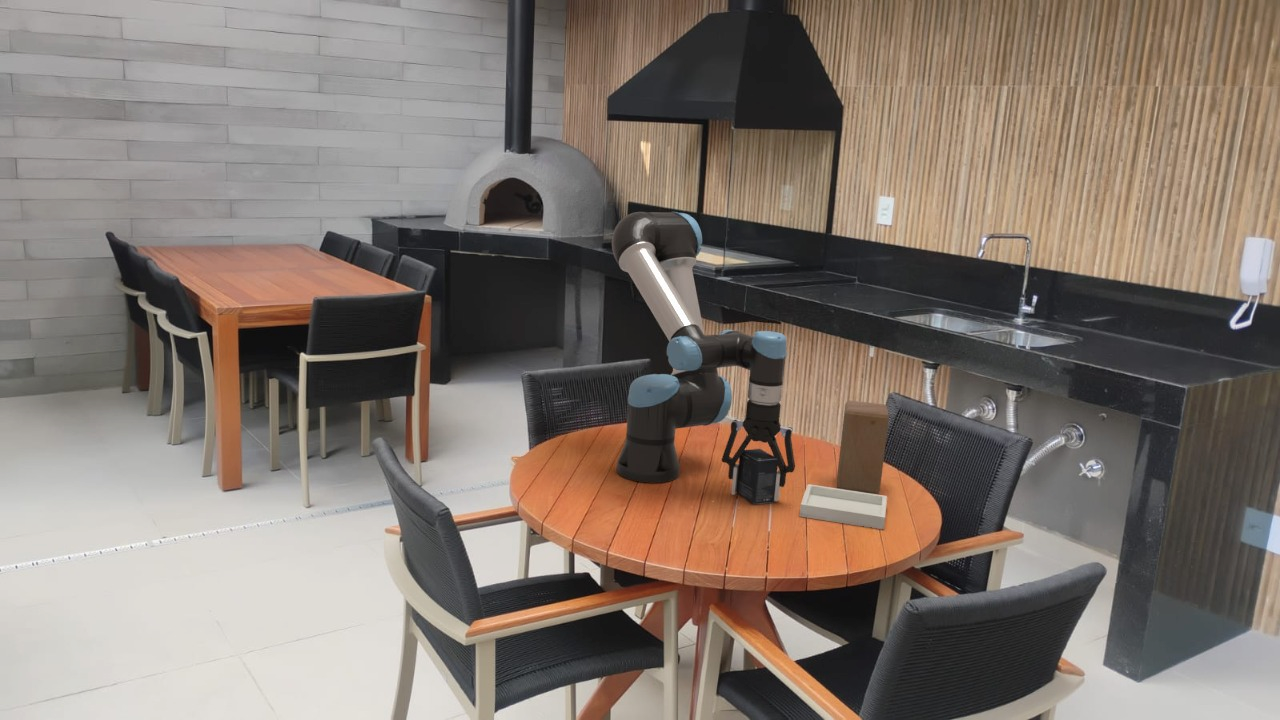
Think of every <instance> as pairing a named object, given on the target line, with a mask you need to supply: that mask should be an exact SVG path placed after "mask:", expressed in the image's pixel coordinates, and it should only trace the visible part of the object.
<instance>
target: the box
mask: <svg viewBox="0 0 1280 720" xmlns="http://www.w3.org/2000/svg"><path fill="white" fill-rule="evenodd" d="M777 461H778V460H777V459H776V458H774V455H773V454H770V453H768V452H767V451H765V450H763V449H761V448H753V449H745V450H744V451H743V453H742V454H741V456H740V457H739V459H738V464H739V469H738V480H737V491H736V493H735V494H736V495H738V496H740V497H742V498H743V499H745V500H746V501H748V502H749V503H751V504H752V505H755V506H756V505H762V504H763V505H764V504H772V503H774V502H775V501H774V496H775V486H776V476H777V472H778V469H779V468H778V465H777Z"/></svg>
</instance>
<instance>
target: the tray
mask: <svg viewBox="0 0 1280 720" xmlns="http://www.w3.org/2000/svg"><path fill="white" fill-rule="evenodd" d="M887 502H888V496H887V495H882V494H870V493H864V492H857V491H850V490H844V489H838V487H837V488H835V487H829V486H823V485H818V484H817V485H816V484H808V483H807V485H806V488H805V491H804V494H803V497H802V500H801V503H800V506H799V507H800V509H799V517H802V518H808V519H814V520H815V519H816V520H819V521H826V522H827V521H828V522H833V523H841V524H846V525H853V526H858V527H859V526H860V527H863V526H864V528H870V527H872V528H871V529H876V528H877V529H878V530H882V529H883V530H884V529H885V521H886V512H887V511H886V510H887ZM883 530H882V531H883Z"/></svg>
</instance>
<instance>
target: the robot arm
mask: <svg viewBox="0 0 1280 720" xmlns="http://www.w3.org/2000/svg"><path fill="white" fill-rule="evenodd" d="M702 235H703V234H702V231H701V228H700V226H699V223H698V222H697V220H696V219H695V218H694V217H692V216H691V215H690V214H689V213H688V214H687V213H684V212H677V211H671V212H668V211H667V212H663V211H662V212H659V211H657V212H656V211H653V212H651V211H650V212H649V211H637V212H635V211H634V212H632V213H630V214H629V213H628V214H627V215H625V216H624V217H623V218H622V219H621V220H620V221H619V222H618V223H617V225H616V226H615V228H614V230H613V233H612V237H611V248H612V249H611V250H612V253H613V257H614V259H615V261H616V263H617V265H618V266H619V268H620V270H622V271H623V272H626V273H628V275H629V276H630V278H631V280H632V281H633V283H634V284H635V287H636V288H637V290H638V292H639V293H640V295H641V296H642V298H643V300H644V301H645V303H646V305H647V307H648V308H649V309H650V311H651V313H652V314H653V317H654V318H655V321H656V322H657V324H658V325H659V327H660V328H661V330H662V332H663V333H664V335H665V336H666V338H667V340H668V341H669V342H668V343H667V346H666V356H667V357H668V359H667V360H668V363H669V365H670V366H671V367H672V368H673V369H674V370H673V371H672V373H670V374H667V373H660V374H657V373H652V374H646V375H645V374H644V375H641V376H639V377H637V378H635V379H634V380H632V382H631V384H630V385H629V390H628V396H627V403H628V404H627V417H626V435H625V441H624V444H623V446H622V449H621V451H620V454H619V457H618V459H617V463H616V473H617V474H618V475H619V476H620V477H622V478H624V479H627V480H630V481H631V480H632V481H633V482H634V481H635V482H640V483H648V484H649V483H651V484H652V483H655V484H657V483H659V484H660V483H667V482H670V481H674V480H676V479H678V478H679V476H680V470H681V469H680V468H681V466H680V465H681V464H680V461H679V457H678V453H677V448H676V445H675V439H676V429H677V430H678V429H684V428H691V427H698V426H703V427H704V426H706V427H707V426H710V425H713V424H717V423H720V422H722V421H723V420H724V419H726V417H727V416H728V413H729V411H730V410H731V406H732V401H733V394H732V393H733V391H732V388H731V385H730V382H729V381H727V379H726V378H725V377H724V376H721V375H719V373H718V372H719V371H718V368H729V367H740V368H742V369H745V370H748V371H749V378H748V388H747V389H748V390H747V398H748V400H747V401H746V410H745V418H744V420H743V421H742V420H741V421H740V420H738V419H733V420H732V422H731V423H730V434H729V436H728V437H729V438H728V440H727V443H726V445H725V448H724V450H723V451H724V452H723V455H722V458H721V462H722V463H726V464H727V465H728V476H727V477H728V479H729V480H732V481H731V482H732V484H731V495H733V496H735V495H736V494H737V493H736V491H737V480H738V469H739V463H737V462H738V461H739V457H740V456H741V454H742V453H743V451H744V450H746V448H747V447H748V445H749V444H750V443H751V441H753V442H762V443H765V444H768V447H770V450H771V453H772V456H774V458H776V459H777V460H778V461H777V465H778V468H777V476H776V486H775V496H774V502H778V500H779V498H780V493H781V492H780V491H781V489H780V488H784V487H785V485H786V480H787V479H786V478H787V474H788V473H794V471H795V468H796V463H795V457H794V451H793V450H794V447H793V443H792V442H793V441H792V435H793V434H792V433H793V427H791V426H789V427H785V426H781V425H782V424H781V423H780V416H781V409H782V408H781V403H780V402H782V397H783V385H784V374H785V367H786V366H785V365H786V359H787V358H786V357H787V354H788V353H787V341H788V339H787V337H786V336H785V334H784V333H781V332H778V331H777V332H776V331H771V330H770V331H769V330H760V331H759V330H758V331H756V332H754V334H753V335H750V334H747V333H744V332H742V331H740V330H733V329H725V330H723V331H721V332H719V333H718V334H705V331H704V326H703V321H702V315H701V309H700V304H699V300H698V293H697V290H696V289H697V287H696V284H695V279H694V273H693V267H694V266H695V265H696V263H697V257H698V255H699V254H700V253H701V250H702V246H701V245H702V244H703V236H702ZM742 427H743V430H745V432H746V434H747V435H746V437H745V438H744V440H743V442H742V443H741V444H740V446H739V447H738V449H737V451H735V453H734V455H733V457H730V455H731V452H732V449H733V447H734V444H735V441H736V438H737V435H738V432H740V430H741V428H742ZM779 433H781V437H782V438H784V440H783V441H784V447H785V448H784V449H785V455H786V460H787V461H786V462H787V465H786V463H785V460H784V457H783V454H782V453H781V450H780V448H779V444H778V442H777V439H776V436H777V435H778V434H779Z"/></svg>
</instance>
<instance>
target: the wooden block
mask: <svg viewBox="0 0 1280 720" xmlns="http://www.w3.org/2000/svg"><path fill="white" fill-rule="evenodd" d="M889 420H890V416H889V410H888V406H887V404H884V403H877V402H876V403H875V402H867V401H865V402H864V401H859V400H858V401H857V400H856V401H855V400H847V401H846V402H845V404H844V414H843V422H842V430H841V437H840V438H841V439H840V446H839V457H838V465H837V474H836V487H837V489H844V490H850V491H857V492H864V493H871V494H877V495H879V493H880V492H881V486H882V485H881V484H882V483H881V482H882V476H883V467H884V460H885V459H884V458H885V451H886V444H887V435H888V428H889Z"/></svg>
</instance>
